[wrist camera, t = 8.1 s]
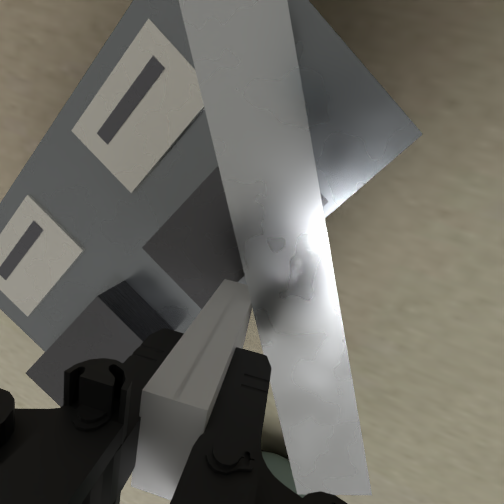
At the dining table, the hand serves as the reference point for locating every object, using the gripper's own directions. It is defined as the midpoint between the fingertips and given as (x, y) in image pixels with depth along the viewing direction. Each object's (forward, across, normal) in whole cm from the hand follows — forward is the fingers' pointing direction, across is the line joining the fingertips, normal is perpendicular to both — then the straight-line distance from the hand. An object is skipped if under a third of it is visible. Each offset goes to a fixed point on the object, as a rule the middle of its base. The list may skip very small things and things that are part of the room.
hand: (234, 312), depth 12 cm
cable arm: (+1, +1, +4) cm, 4 cm away
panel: (+6, -7, +2) cm, 9 cm away
